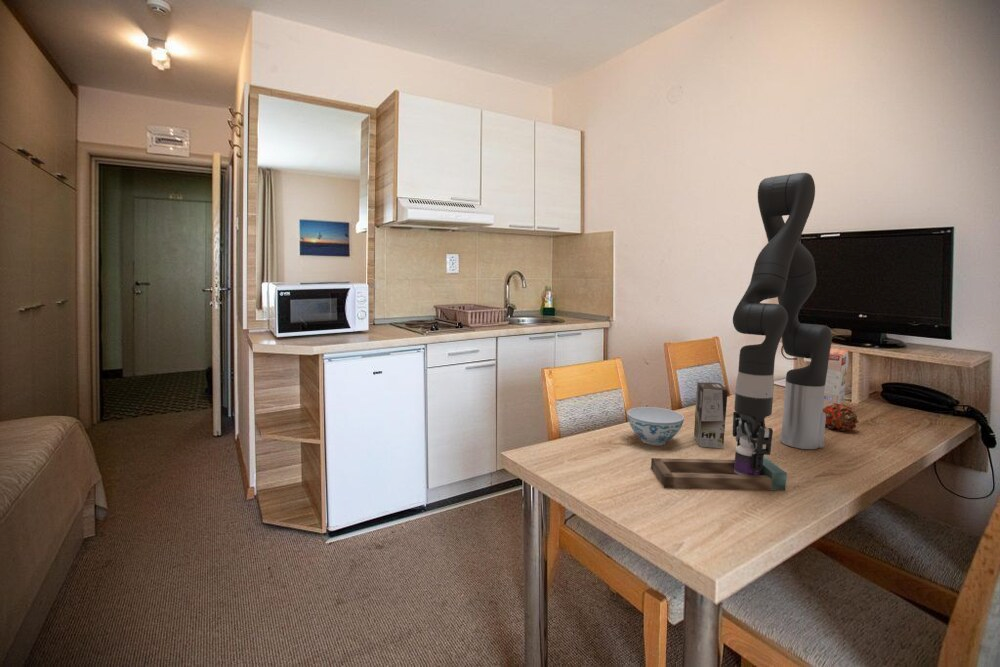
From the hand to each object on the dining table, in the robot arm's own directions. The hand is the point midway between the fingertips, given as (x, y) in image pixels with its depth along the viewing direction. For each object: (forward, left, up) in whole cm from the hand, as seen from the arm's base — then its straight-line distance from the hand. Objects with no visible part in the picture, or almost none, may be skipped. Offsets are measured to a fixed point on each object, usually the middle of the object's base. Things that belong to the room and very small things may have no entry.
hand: (748, 463), depth 115 cm
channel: (+7, 0, -4) cm, 8 cm away
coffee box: (-1, -25, -4) cm, 25 cm away
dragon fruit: (-45, -40, -4) cm, 60 cm away
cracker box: (-56, -60, -4) cm, 82 cm away
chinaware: (+14, -25, -4) cm, 29 cm away
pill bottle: (0, 0, -4) cm, 4 cm away
